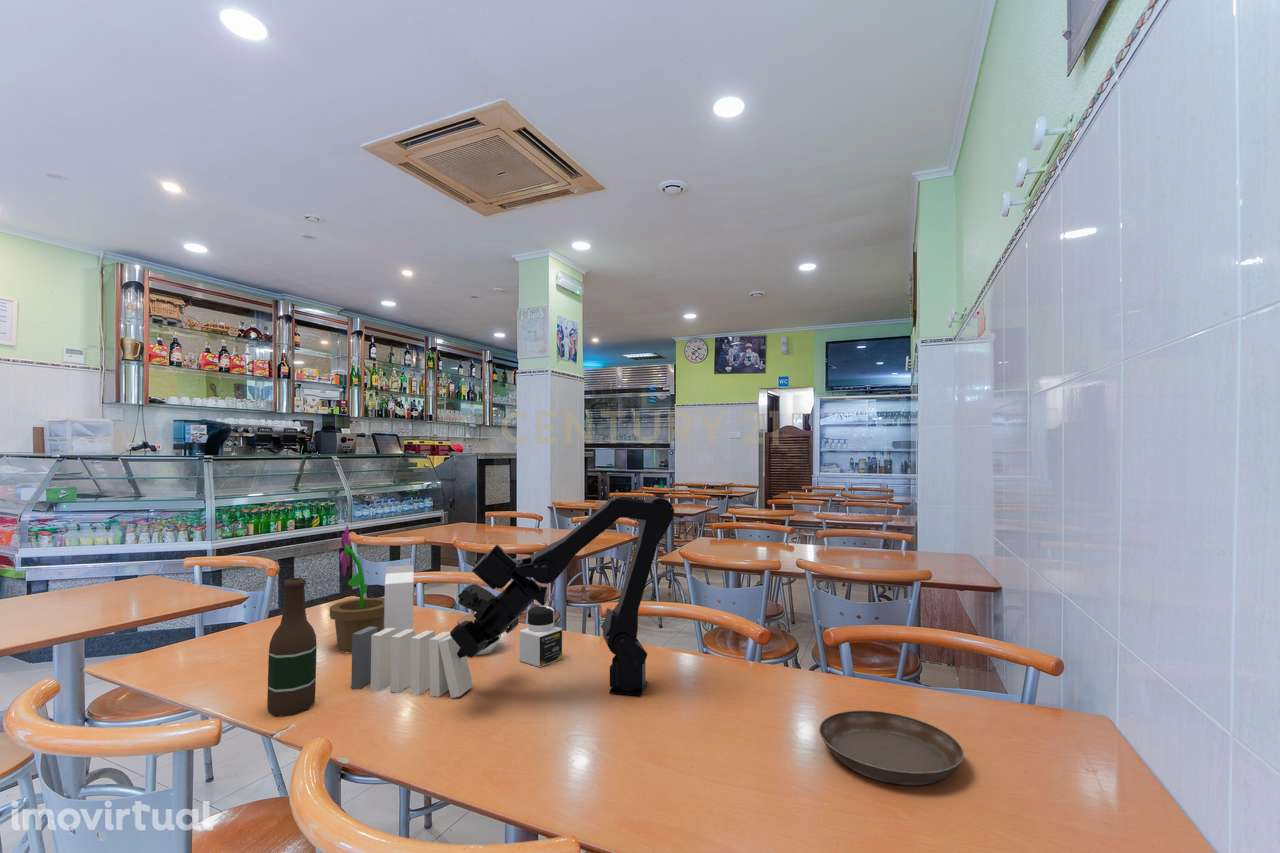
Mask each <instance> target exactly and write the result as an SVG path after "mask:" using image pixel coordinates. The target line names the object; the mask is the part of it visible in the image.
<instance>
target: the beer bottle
mask: <svg viewBox="0 0 1280 853" xmlns="http://www.w3.org/2000/svg"><path fill="white" fill-rule="evenodd" d="M306 585H307V580H306V578H304V577H303V578H302V577H292V578H289V579H287V580H284V582H283V585H282V587H283V588H284V593H283V594H284V595H283V604H282V606H283V607H282V617H281V619H280V624H279V626H278V627H277V628H276V629H275V631H274V632H273V633H272V634H273V635H272V636H271V639H270V641H269V648H268V660H267V661H268V662H267V663H268V664H267V666H268V670H267V697H266V699H267V700H266V702H267V712H268V713H269V714H271V715H272V716H274V717H287V716H289V717H290V716H295V715H297V714H300V713H303V712H305V711H308V710H309V709H310V708H311V707H312V706H313V705H314V704H315V700H316V688H317V687H316V684H317V683H316V681H317V675H316V674H317V647H318V646H317V634H316V632H315V629H314V628H313V626H312V624H310V622H309V621H308V617H307V612H306V594H305V593H306V592H305V586H306Z"/></svg>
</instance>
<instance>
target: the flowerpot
mask: <svg viewBox="0 0 1280 853" xmlns="http://www.w3.org/2000/svg"><path fill="white" fill-rule="evenodd" d="M349 536H350V530H349V526H348V525H347V524H346V527H345V528H344V533H342V535H341V540H340V541H341V548H343V551H341V553H339V554H340V555H339V556H340V557H339V564H342V565H341V572H342V577H345V576H346V573H347V568H349V567H350V566H349V565H350V558H351V557H352V559H353V561H354V563H355V565H356V566H357V573H356V574H354V575H353V577H351V579H349V581H348V583H347V584H348V586H350V587H352V588H357V587H359V598H356V599H355V598H354V599H349V600H345V601H340V602H336V603H335V604H332V605H331V606H330V607H329V618H330V620H334V626H335V634H336V635H335V636H336V642H337V650H338V649H339V650H338V652H340V651H344V652H352V634H353V633H355V632H358V631H360V630H362V629H365V628H367V627H378V632H380V631H382V630H384V607H385V597H384V598H383V597H365V593H367V592H368V583H365V579H364V574H363V569H362V564H361V562H360V560H359V559H358V556H357V555H356V553H355V551H353V550H352V548H351V538H349ZM350 556H351V557H350ZM344 652H343V653H344Z"/></svg>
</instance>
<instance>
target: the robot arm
mask: <svg viewBox="0 0 1280 853" xmlns="http://www.w3.org/2000/svg"><path fill="white" fill-rule="evenodd" d="M674 515H675V509H674V507H673V505H672V503H671V502H670V501H669V500H668V499H665V498H663V497H659V496H654V495H653V496H649V497H647V498H645V499H639V498H638V499H637V498H635V499H634V498H626V497H625V498H624V497H623V498H622V497H620V496H612V497H610V498H608V500H606V502H605V504H603V505H602V506H601V507H600V508H598V509H597V510H596V511H594V512H593V513H592V514H591V515H590V516H588V517H587V518H586V519H585V520H584V521H582V522H581V523H580V524H579V525H577V526H576V527H574V529H572V530H571V531H570V532H569V533H567V535H565V536H564V537H562V538H560V539H559V540H556V541H554V542H553V543H552V542H551V543H550V544H548V545H546V546H545V547H543V548H541V549H539V550H538V551H536V552H535V553H534V554H533V555H532V556H528V557H526V558H521V559H517V560H514V559H513V558H512V556H510V555H508V553H506V551H504V549H503V548H502V547H501V546H500V545H499V544H495V545H494V546H493V547H492V549H490V550H489V551H488V552H487V553H486V554H484V555H483V556H482V557H481V558H480V559H479V560H478V561H477V563H476V564H474V566H473V568H472V569H471V572H472V573H474V574H475V576H477V577H478V578H479V579H480V580H482V581H483V582H484V583H485V584H486V585H487V586H488V587H490V588H491V589H492V590H495V589H497V590H499V589H501V590H502V589H503V588H504V587H505V586H506V585H507V586H506V587H505V588H504V589H503V590H502V591H501V592H499V594H497V596H496V595H495V594H493V593H492V592H491V591H489V590H487V589H486V588H484V587H482V586H481V585H478V584H476V583H475V584H474V583H473V584H470V585H468V586H465V587H464V588H463V590H462V591H461V592H460V593H459V594H458V596H457V597H458V599H459V600H458V604H459V605H461V606H462V607H464V608H465V609H468V610H471V611H472V612H474V613H473V614H474V615H473V616H474V617H475V618H476V619H475V620H474V623H473V622H472V621H464V622H462V623H460V624H459V625H455V627H453V629H451V631H449V632H450V636H451V637H452V638H453V639H454V641H455V642H456V643H457V644H458V645H459V647H460V649H459V651H458V653H457V655H458V657H459V658H462V657H465V656H466V657H467V658H469V659H472V658H474V657H475V656H477V655H476V654H478V653H479V652H480V651H481V650H484V649H485V648H487V647H488V646H490V645H491V644H493V643H494V642H496V641H497V640H499V637H498V636H499V635H501V636H502V634H503V633H506V634H509V633H511V632H513V631H514V629H515V628H516V627H518V625H519V618H520V617H521V616H522V615H523V612H524V611H525V610H527V608H528V607H529V606H530V605H531V604H532V603H533V602H535V601H536V602H537V603H539V605H540V606H546V605H545V604H546V602H547V599H548V587H547V586H541V585H539V584H538V583H540V584H546V585H547V584H551V583H553V582H554V581H555V580H557V579H558V577H559V576H560V575H561V574H562V573H563V572H564V570H565V569H566V568H567V567H568V565H569V564H570V562H571V561H572V560H573V558H574V557H575V556H576V555H577V554H578V553H579V552H580V551H582V549H584V548H585V547H586V546H587V545H588V544H590V543H591V542H592V541H594V540H595V539H596V538H598V536H599V535H600V534H602V533H603V532H604V531H606V530H607V529H608V528H609V527H611V526H612V525H613V524H614V523H616V521H618V520H619V519H620V518H627V519H634V520H638V533H637V534H638V537H637V541H636V544H635V547H634V550H633V553H632V554H633V555H632V557H631V561H630V563H629V566H628V570H627V573H626V577H625V580H624V584H623V587H622V589H621V593H620V597H619V600H618V602H617V604H616V605H615V607H614V609H611V608H609V607H608V608H606V610H605V618H604V620H603V623H602V624H600V627H601V630H602V636H603V640H604V641H605V643H606V645H607V647H608V649H609V652H611V653H612V654H613V655H614V656H613V658H612V661H611V662H612V663H611V664H610V665H609V687H610V689H609V694H615V695H626V696H627V695H628V696H635V697H637V696H639V697H640V696H643V693H644V691H645V690H646V688H647V686H648V681H646V660H647V657H648V653H647V651H646V649H645V648H644V647H643V645H642V643H641V642H640V641H639V639H638V631H639V630H638V629H639V622H638V621H639V608H640V606H641V605H640V604H641V602H642V599H643V596H644V592H645V589H646V585H647V582H648V578H649V576H650V572H651V567H652V565H653V561H654V558H655V555H656V551H657V548H658V545H659V544H660V542H661V541H662V539H663V537H664V536H665V534H666V533H667V531H668V530H669V527H670V525H671V523H672V522H673V519H674V517H675V516H674ZM534 580H535V581H534ZM510 581H511V582H510ZM508 583H509V584H508Z"/></svg>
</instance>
